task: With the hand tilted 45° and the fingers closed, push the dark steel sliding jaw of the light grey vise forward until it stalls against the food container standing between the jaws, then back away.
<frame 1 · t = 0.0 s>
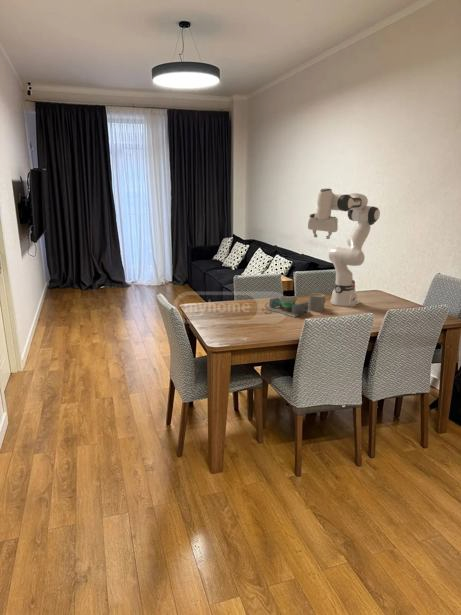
hand: (321, 238, 276), 48 cm above the table, tool pointing down, fingers open, 8 cm apart
vise free jaw: (278, 301, 294), point 4 cm above the table, slide at 0.0 cm
food container: (287, 311, 287), resting in vise
vise: (288, 310, 289), on the table
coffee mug: (318, 309, 295), on the table
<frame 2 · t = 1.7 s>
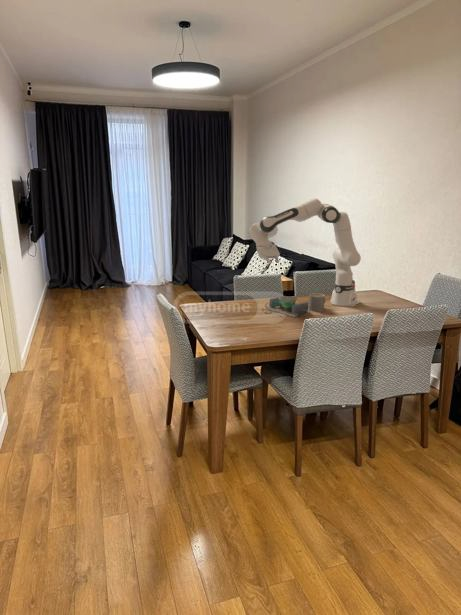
hand: (274, 262, 289), 30 cm above the table, tool tilted 40°, fingers open, 8 cm apart
nothing on the table moved.
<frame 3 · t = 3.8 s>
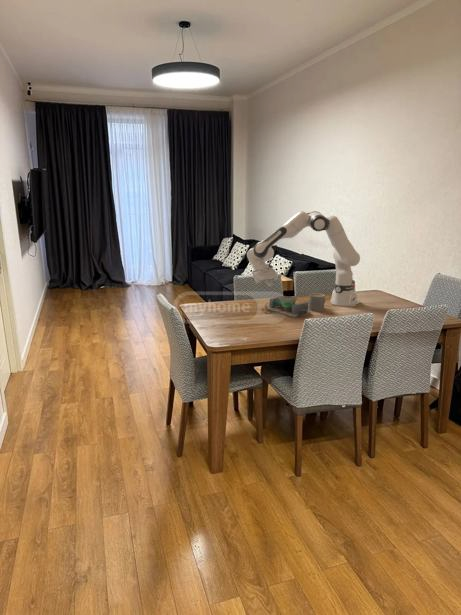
hand: (271, 286, 296), 14 cm above the table, tool tilted 45°, fingers closed
nothing on the table moved.
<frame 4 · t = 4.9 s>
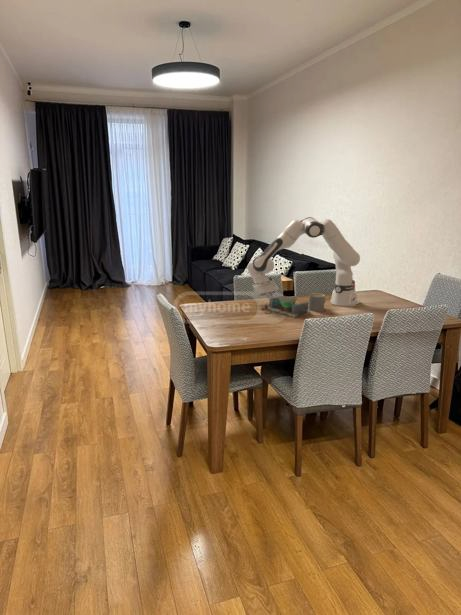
hand: (271, 299, 298), 5 cm above the table, tool tilted 45°, fingers closed
nothing on the table moved.
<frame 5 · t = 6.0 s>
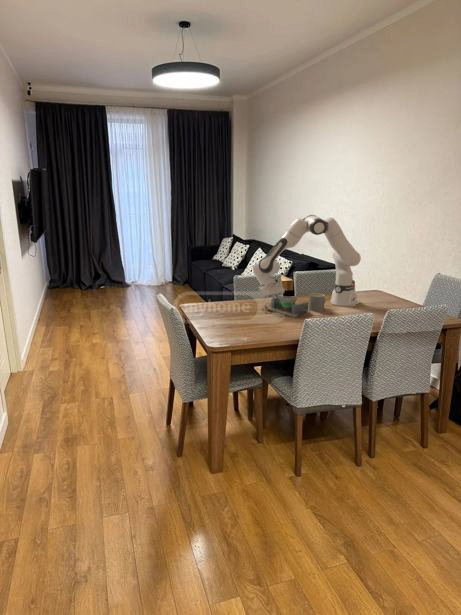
hand: (277, 300, 294), 5 cm above the table, tool tilted 45°, fingers closed, pressing on vise free jaw
vise free jaw: (279, 302, 293), point 4 cm above the table, slide at 1.5 cm, touching gripper
everything else where it was.
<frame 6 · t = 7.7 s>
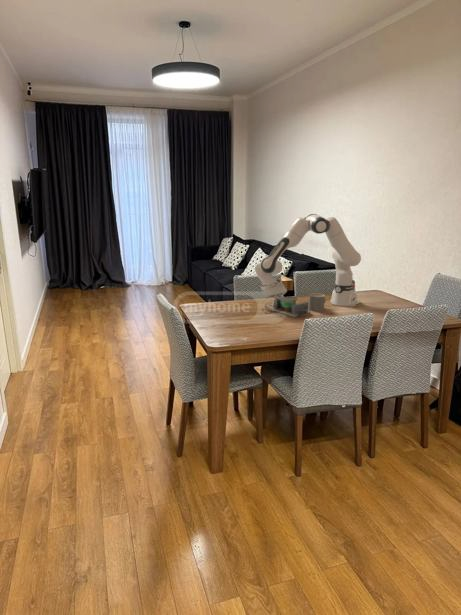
hand: (280, 301, 293), 5 cm above the table, tool tilted 45°, fingers closed
vise free jaw: (282, 302, 291), point 4 cm above the table, slide at 3.7 cm, touching food container
food container: (288, 312, 287), resting in vise, touching vise free jaw
everything else where it was.
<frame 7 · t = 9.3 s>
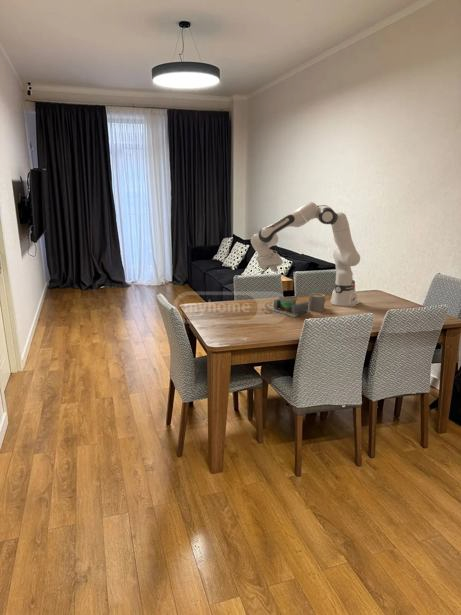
hand: (276, 271, 295), 24 cm above the table, tool tilted 45°, fingers closed
vise free jaw: (282, 302, 291), point 4 cm above the table, slide at 3.7 cm
food container: (288, 312, 287), resting in vise
everything else where it was.
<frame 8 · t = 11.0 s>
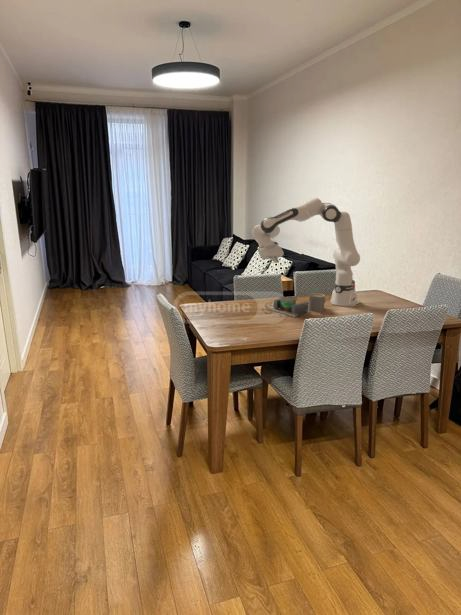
hand: (277, 262, 294), 29 cm above the table, tool tilted 45°, fingers closed
nothing on the table moved.
at the end: vise free jaw slide at 3.7 cm; food container tilted 0°; food container 2.1 cm from the vise (horizontally) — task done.
